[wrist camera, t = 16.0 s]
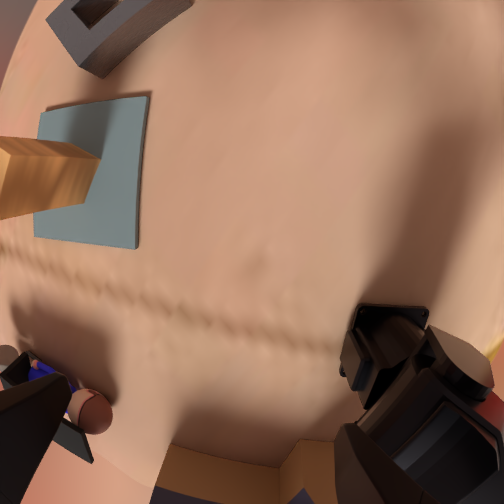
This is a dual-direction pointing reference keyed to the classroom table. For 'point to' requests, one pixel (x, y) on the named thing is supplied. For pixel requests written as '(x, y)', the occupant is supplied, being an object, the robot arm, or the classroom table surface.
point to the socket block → (109, 28)
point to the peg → (42, 175)
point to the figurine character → (79, 409)
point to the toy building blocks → (248, 478)
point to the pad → (99, 172)
